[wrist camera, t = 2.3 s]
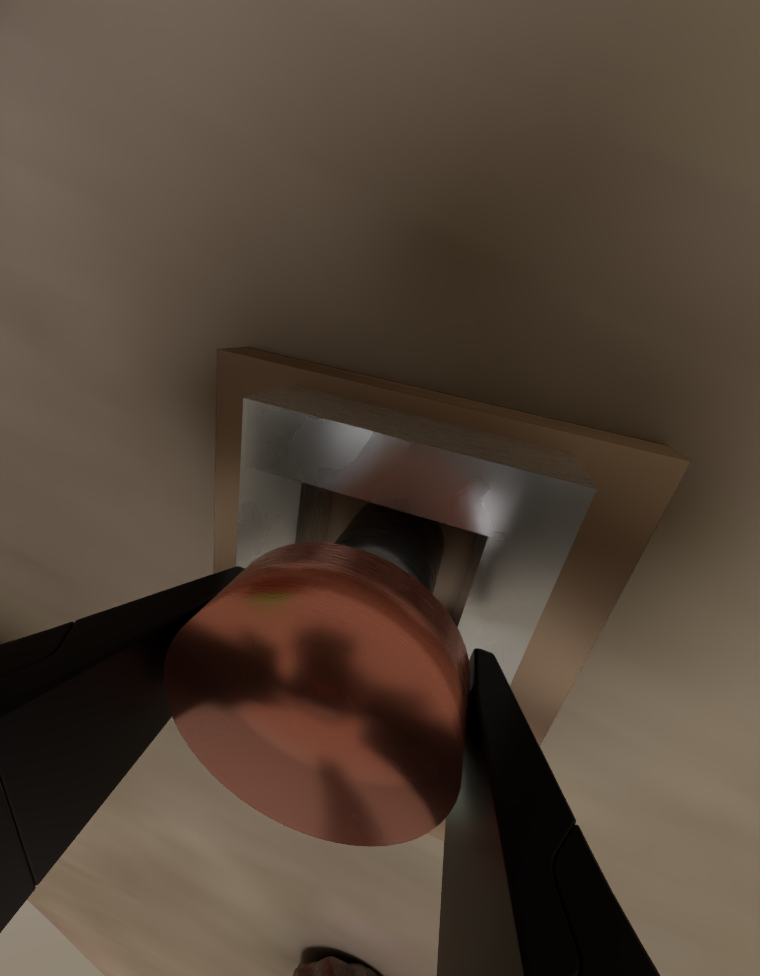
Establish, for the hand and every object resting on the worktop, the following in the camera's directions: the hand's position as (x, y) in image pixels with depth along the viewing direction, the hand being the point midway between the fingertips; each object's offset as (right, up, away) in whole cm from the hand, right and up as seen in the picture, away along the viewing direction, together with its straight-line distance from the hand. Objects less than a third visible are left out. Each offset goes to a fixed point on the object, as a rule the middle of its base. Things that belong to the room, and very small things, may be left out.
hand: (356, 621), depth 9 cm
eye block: (+1, +1, +4) cm, 4 cm away
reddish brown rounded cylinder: (+1, +1, +4) cm, 4 cm away
